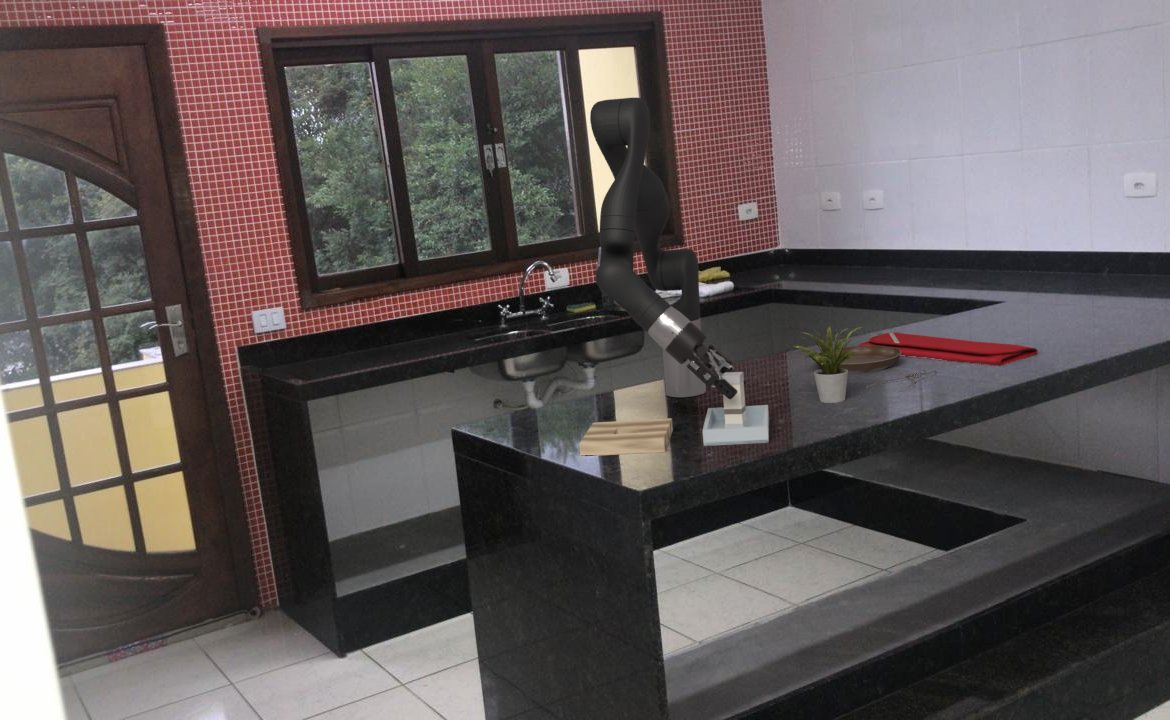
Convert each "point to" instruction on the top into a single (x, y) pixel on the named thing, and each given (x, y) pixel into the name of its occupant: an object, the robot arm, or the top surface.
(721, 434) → the parts tray
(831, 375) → the house plant
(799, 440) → the top surface
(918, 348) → the dish drying mat
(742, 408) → the block
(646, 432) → the wooden board with hole
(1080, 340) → the top surface
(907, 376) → the pliers
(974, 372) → the top surface
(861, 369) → the plant saucer
